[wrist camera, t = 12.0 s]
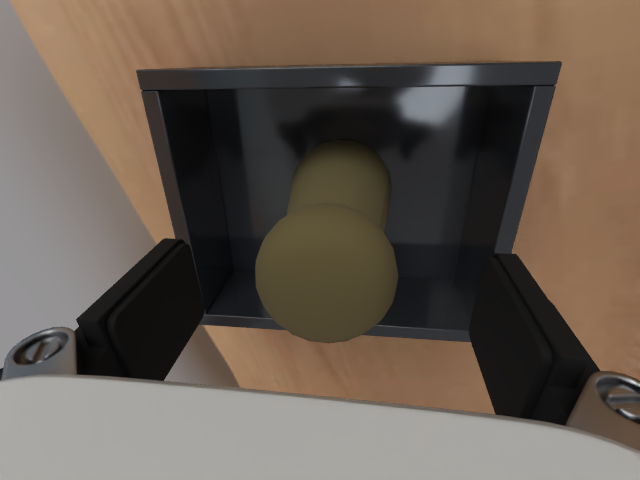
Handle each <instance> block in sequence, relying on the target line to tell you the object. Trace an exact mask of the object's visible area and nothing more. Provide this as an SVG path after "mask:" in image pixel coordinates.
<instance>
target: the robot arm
mask: <svg viewBox="0 0 640 480" xmlns="http://www.w3.org/2000/svg"><path fill="white" fill-rule="evenodd" d="M204 311H205V308H204V303H203V299H202V295H201V290H200V286H199V282H198V277H197V273H196V269H195V265H194V260H193V256H192V252H191V248H190V246H189V244H186V243H185V241H184V240H182V239H168V238H166V239H163V240H162V241H161V242H160V243H158V244H157V245H156V246H155V247H154V248H153V249H152V250H151V251H150V252H149V253H148V254H147V255H146V256H144V257H143V258H142V259H141V260H140V261H139V262H138V263H137V264H136V265H135V266H134V267H132V268H131V269H130V270H129V271H128V272H127V273H126V274H125V275H124V276H123V277H122V278H121V279H120V280H118V281H117V282H116V283H115V284H114V285H113V286H112V287H111V288H110V289H109V290H108V291H106V292H105V293H104V294H103V295H102V296H101V297H100V298H99V299H98V300H97V301H96V302H94V303H93V304H92V305H91V306H90V307H89V308H88V309H87V310H86V311H85V312H84V313H83V314H81V315H80V316H79V317H78V318H77V319H76V320H77V323H78V325H79V327H78V328H77V329H76V330H75V331H73V330H72V329H70V328H67V327H53V328H50V329H46V330H42V331H40V332H37V333H34V334H33V335H30V336H29V337H27V338H25V339H23V340H22V341H21V342H19V343H18V344H17V345H15V346H14V347H13V348H12V349H11V350H10V352H9V353H8V355H7V357H6V359H5V363H4V368H2V369H0V480H640V380H638V379H636V378H633V377H631V376H628V375H626V374H622V373H618V372H613V371H600V370H599V368H598V367H597V365H596V364H595V363H594V361H593V360H592V358H591V357H590V356H589V354H588V353H587V351H586V350H585V348H584V347H583V346H582V344H581V343H580V341H579V340H578V339H577V337H576V336H575V334H574V333H573V332H572V330H571V329H570V327H569V326H568V324H567V323H566V322H565V320H564V319H563V317H562V316H561V315H560V313H559V312H558V310H557V309H556V308H555V306H554V305H553V304H552V303H551V302H550V301H549V300H548V298H547V297H546V295H545V294H544V293H543V291H542V290H541V288H540V287H539V285H538V284H537V283H536V281H535V280H534V278H533V277H532V276H531V274H530V273H529V271H528V270H527V268H526V267H525V266H524V264H523V263H522V261H521V260H520V258H519V257H518V256H517V255H516V254H506V253H494V254H493V255H492V258H486V260H485V263H484V267H483V271H482V275H481V279H480V283H479V287H478V291H477V295H476V299H475V304H474V308H473V312H472V316H471V320H470V324H469V337H470V340H471V343H472V346H473V349H474V352H475V355H476V358H477V361H478V364H479V367H480V370H481V373H482V376H483V379H484V381H485V384H486V387H487V390H488V393H489V396H490V399H491V402H492V405H493V408H494V411H495V414H496V415H494V414H486V413H477V412H468V411H459V410H451V409H443V408H433V407H424V406H414V405H404V404H395V403H385V402H375V401H366V400H356V399H346V398H337V397H326V396H316V395H306V394H296V393H286V392H276V391H265V390H255V389H245V388H235V387H224V386H212V385H201V384H191V383H180V382H170V381H164V379H165V378H166V376H167V375H168V373H169V371H170V370H171V368H172V366H173V365H174V363H175V362H176V360H177V358H178V357H179V355H180V354H181V352H182V350H183V349H184V347H185V346H186V344H187V342H188V341H189V339H190V338H191V336H192V334H193V333H194V331H195V330H196V328H197V326H198V325H199V323H200V322H201V320H202V318H203V316H204Z"/></svg>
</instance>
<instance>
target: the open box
mask: <svg viewBox="0 0 640 480" xmlns="http://www.w3.org/2000/svg"><path fill="white" fill-rule="evenodd" d="M561 65H562V62H560V61H475V62H426V63H377V64H328V65H279V66H229V67H189V68H166V69H143V70H137V71H136V72H137V77H138V81H139V85H140V89H141V90H143V91H141V94H142V98H143V102H144V106H145V111H146V115H147V119H148V123H149V128H150V132H151V136H152V140H153V145H154V149H155V153H156V157H157V162H158V166H159V170H160V174H161V179H162V183H163V187H164V191H165V196H166V200H167V204H168V208H169V213H170V217H171V221H172V225H173V230H174V234H175V238H176V239H182V240H184V241H185V243H186V244H189V246H190V248H191V252H192V256H193V260H194V265H195V269H196V273H197V277H198V282H199V286H200V290H201V295H202V299H203V303H204V308H205V311H204V316H203V318H202V320H201V322H200V323H199V325H214V326H230V327H245V328H261V329H276V330H285V329H284V328H282V327H281V326H280V325H278V324H277V323H276V322H275V321H274V319H273V318H272V317H271V316H270V315H269V313H268V312H267V311H266V309H265V308H264V306H263V304H262V301H261V299H260V296H259V294H258V291H257V289H256V276H255V266H256V259H257V256H258V253H259V250H260V247H261V245H262V242H263V240H264V239H265V237H266V235H267V234H268V233H269V232H270V230H271V229H272V228H273V227H274V226H275V225H276V224H277V222H278V221H279V220H280V219H282V218H284V217H285V216H286V214H287V208H288V202H289V196H290V191H291V185H292V179H293V176H294V173H295V170H296V168H297V165H298V163H299V162H300V161H301V160H302V158H303V157H304V156H305V155H306V153H307V152H309V151H310V150H312V149H313V148H315V147H316V146H318V145H320V144H321V143H325V142H329V141H334V140H348V141H355V142H358V143H360V144H362V145H365V146H367V147H369V148H370V149H372V150H373V151H374V152H375V153H376V154H377V155H378V156H379V157H380V158H382V160H383V162H384V164H385V165H386V167H387V169H388V171H389V173H390V179H391V185H392V191H391V197H390V203H389V208H388V214H387V219H386V224H385V230H384V234H385V235H386V237H387V239H388V240H389V242H390V244H391V245H392V247H393V249H394V255H395V260H396V265H397V271H398V281H397V286H396V292H395V296H394V299H393V303H392V305H391V306H390V308H389V309H388V311H387V313H386V314H385V316H384V317H383V319H382V320H380V321H379V322H378V323H377V324H376V325H375V326H373V327H372V328H371V329H369V330H368V331H367V332H366V333H364V334H363V335H368V336H384V337H399V338H415V339H430V340H445V341H461V342H471V340H470V337H469V324H470V320H471V316H472V312H473V308H474V304H475V299H476V295H477V291H478V287H479V283H480V279H481V275H482V271H483V267H484V263H485V260H486V258H492V255H493V254H494V253H506V254H511V252H512V248H513V244H514V241H515V237H516V233H517V229H518V226H519V222H520V218H521V215H522V211H523V207H524V203H525V200H526V196H527V192H528V188H529V185H530V181H531V177H532V173H533V170H534V166H535V162H536V158H537V155H538V151H539V147H540V143H541V140H542V136H543V132H544V128H545V125H546V121H547V117H548V114H549V110H550V106H551V102H552V99H553V95H554V91H555V86H554V85H556V83H557V80H558V76H559V72H560V68H561Z"/></svg>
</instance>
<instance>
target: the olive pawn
mask: <svg viewBox="0 0 640 480" xmlns="http://www.w3.org/2000/svg"><path fill="white" fill-rule="evenodd" d="M391 191H392V185H391V179H390V173H389V171H388V169H387V167H386V165H385V164H384V162H383V160H382V158H380V157H379V156H378V155H377V154H376V153H375V152H374V151H373V150H372V149H370V148H369V147H367V146H365V145H362V144H360V143H358V142H355V141H348V140H334V141H329V142H325V143H321V144H320V145H318V146H316V147H315V148H313V149H312V150H310V151H309V152H307V153H306V155H305V156H304V157H303V158H302V160H301V161H300V162H299V163H298V165H297V168H296V170H295V173H294V176H293V179H292V185H291V191H290V196H289V202H288V208H287V214H286V216H285V217H284V218H282V219H280V220H279V221H278V222H277V224H276V225H275V226H274V227H273V228H272V229H271V230H270V232H269V233H268V234H267V235H266V237H265V239H264V240H263V242H262V245H261V247H260V250H259V253H258V256H257V259H256V266H255V276H256V289H257V291H258V294H259V296H260V299H261V301H262V304H263V306H264V308H265V309H266V311H267V312H268V313H269V315H270V316H271V317H272V318H273V319H274V321H275V322H276V323H277V324H278V325H280V326H281V327H282V328H284V329H285V330H287V331H288V332H290V333H291V334H293V335H295V336H298V337H301V338H303V339H306V340H309V341H315V342H323V343H334V342H343V341H348V340H350V339H353V338H356V337H358V336H361V335H363V334H364V333H366V332H367V331H368V330H369V329H371V328H372V327H373V326H375V325H376V324H377V323H378V322H379V321H380V320H382V319H383V317H384V316H385V314H386V313H387V311H388V309H389V308H390V306H391V305H392V303H393V299H394V296H395V292H396V286H397V281H398V271H397V265H396V260H395V255H394V249H393V247H392V245H391V244H390V242H389V240H388V239H387V237H386V235H385V234H384V230H385V224H386V219H387V214H388V208H389V203H390V197H391Z"/></svg>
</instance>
